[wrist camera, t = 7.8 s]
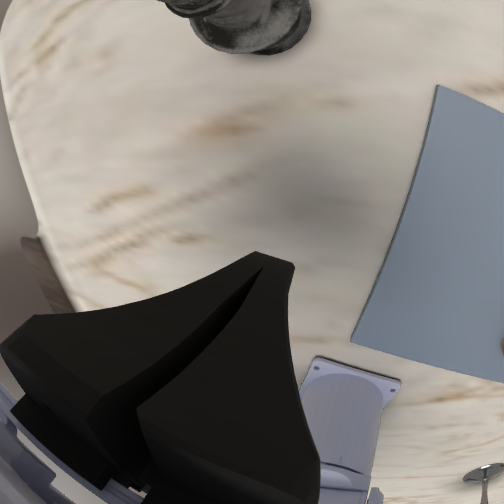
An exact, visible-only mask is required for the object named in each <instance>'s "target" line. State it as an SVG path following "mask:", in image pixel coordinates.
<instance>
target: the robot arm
mask: <svg viewBox="0 0 504 504" xmlns="http://www.w3.org/2000/svg"><path fill="white" fill-rule="evenodd" d="M294 270H295V266H294V265H293V263H291V262H288V261H285V260H282V259H279V258H275V257H272V256H269V255H266V254H263V253H260V252H257V251H254V252H252V253H251V254H249V255H247V256H245V257H243V258H241V259H239V260H237V261H235V262H234V263H232V264H230V265H228V266H226V267H224V268H222V269H220V270H218V271H216V272H214V273H212V274H210V275H208V276H206V277H204V278H202V279H200V280H197V281H195V282H193V283H190V284H188V285H186V286H184V287H181V288H179V289H176V290H173V291H170V292H168V293H165V294H162V295H159V296H155V297H152V298H149V299H146V300H142V301H137V302H133V303H129V304H125V305H121V306H117V307H112V308H106V309H100V310H93V311H86V312H78V313H65V314H45V315H33V316H32V317H31V318H30V319H28V320H27V321H26V322H25V323H24V324H22V325H21V326H20V327H19V328H18V329H17V330H15V331H14V332H13V333H12V334H11V335H10V336H9V337H8V338H6V339H5V340H4V341H3V342H2V343H1V344H0V353H1V355H2V358H3V359H4V361H5V363H6V364H7V366H8V368H9V369H10V371H11V373H12V374H13V376H14V377H15V379H16V380H17V382H18V383H19V385H20V386H21V388H22V389H23V390H24V392H25V393H26V394H25V395H24V396H23V397H22V398H21V399H20V400H19V401H17V400H16V399H15V398H14V397H13V396H12V395H11V393H10V392H9V391H8V390H7V389H6V388H5V387H4V386H3V385H2V384H1V382H0V504H75V503H74V502H73V501H71V500H70V499H69V498H67V497H66V496H65V495H64V494H62V493H61V492H60V491H59V490H57V489H56V488H55V487H54V486H52V485H51V484H50V483H51V482H52V481H53V480H54V478H55V477H56V474H55V473H54V472H53V471H52V470H51V469H50V468H49V467H48V466H47V465H46V464H45V463H44V462H42V461H41V460H40V459H39V458H38V457H37V456H36V455H35V454H34V453H33V452H32V451H30V450H29V449H28V448H27V447H26V446H25V445H24V444H23V443H22V442H21V441H20V440H19V439H18V438H17V428H18V429H19V430H20V431H21V432H22V433H23V434H24V435H25V436H26V437H27V438H28V439H29V440H30V441H31V442H32V443H33V444H34V445H35V446H36V447H37V448H38V449H40V451H42V452H43V453H44V454H45V455H46V456H47V457H48V458H49V459H51V460H52V461H53V462H54V463H55V464H56V465H58V466H59V467H60V468H61V469H62V470H63V471H65V472H66V473H67V474H68V475H70V476H71V477H72V478H73V479H75V480H76V481H78V482H79V483H80V484H81V485H83V486H84V487H86V488H87V489H88V490H89V491H91V492H92V493H93V494H95V495H96V496H98V497H99V498H101V499H102V500H104V501H105V502H107V503H108V504H365V503H366V499H367V495H368V490H369V485H370V480H371V471H372V466H373V461H374V456H375V451H376V445H377V439H378V433H379V426H380V419H381V412H382V410H383V409H384V408H385V406H386V405H387V404H388V403H389V402H390V400H391V399H392V398H393V397H394V396H395V394H396V393H397V392H398V391H399V389H400V388H401V382H400V381H398V380H394V379H390V378H387V377H383V376H379V375H376V374H372V373H369V372H365V371H362V370H359V369H355V368H352V367H349V366H345V365H342V364H339V363H336V362H332V361H329V360H326V359H323V358H319V357H318V358H315V359H314V360H313V362H312V364H311V367H310V369H309V371H308V373H307V375H306V378H305V380H304V382H303V384H302V386H301V389H300V391H299V390H298V386H297V382H296V378H295V374H294V368H293V362H292V356H291V349H290V341H289V329H288V293H289V289H290V285H291V281H292V278H293V274H294ZM316 366H318V367H316ZM16 427H17V428H16ZM129 487H132V488H133V489H135V490H137V491H138V492H141V491H143V492H145V493H147V495H146V496H145V498H142V497H141V496H139V495H137V494H136V493H134V492H132V491H131V490H129V489H128V488H129ZM383 499H384V495H383V494H382V493H381V491H379V488H378V487H371V491H370V496H369V499H368V500H367V504H383Z"/></svg>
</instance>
